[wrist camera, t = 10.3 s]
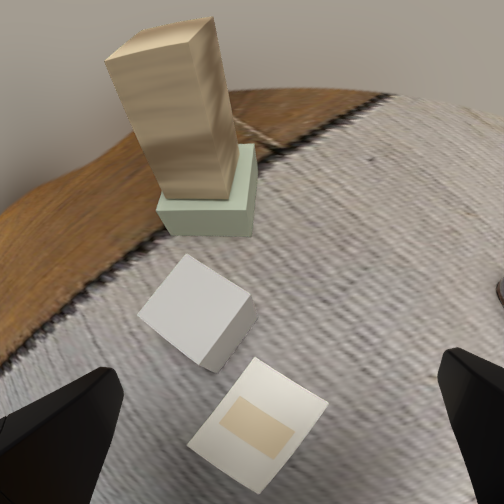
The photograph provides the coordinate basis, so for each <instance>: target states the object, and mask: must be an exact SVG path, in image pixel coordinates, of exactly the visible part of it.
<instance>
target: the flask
mask: <svg viewBox="0 0 504 504" xmlns="http://www.w3.org/2000/svg"><path fill="white" fill-rule="evenodd" d="M496 291H497V292H498V295H499V298H500V301H501V303H502V305H503V307H504V278H502V279H501V280H500V282H499V283H498V287H497V289H496Z"/></svg>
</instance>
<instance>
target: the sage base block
mask: <svg viewBox="0 0 504 504" xmlns="http://www.w3.org/2000/svg"><path fill="white" fill-rule="evenodd" d="M238 147H239V153H240V155H239V159H238V163H237V167H236V170H235V175H234V179H233V183H232V187H231V191H230V195H229V199H166V198H165V196H164V194H163V192H162V193H161V196H160V199H159V202H158V205H157V209H156V212H157V213H158V215H159V217H160V218H161V220H162V222H163V223H164V225H165V227H166V228H167V230H168V231H169V233H170V235H171V236H235V237H252V228H253V218H254V208H255V198H256V188H257V178H258V169H257V161H256V154H255V146H254V144H238Z"/></svg>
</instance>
